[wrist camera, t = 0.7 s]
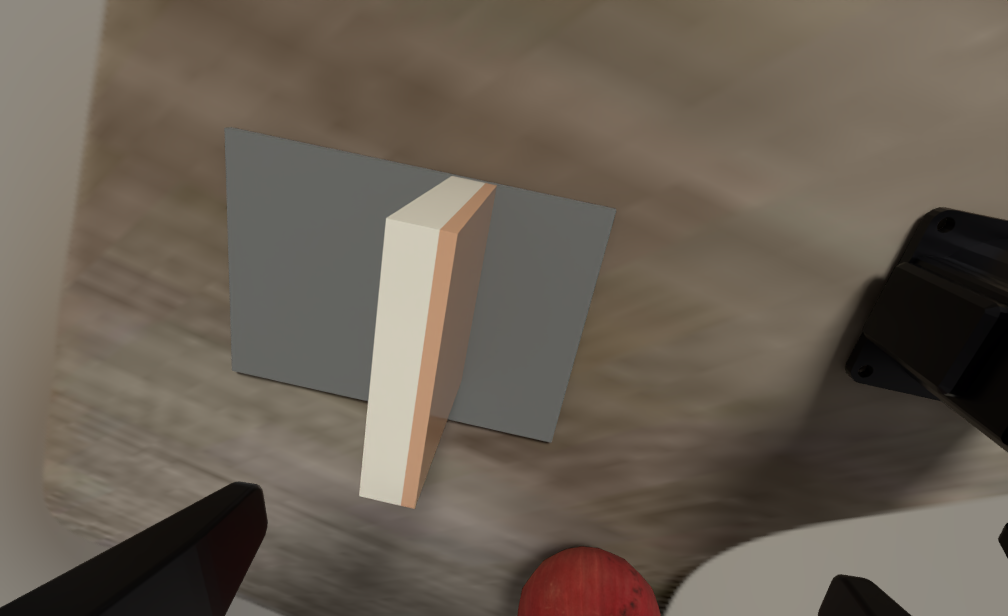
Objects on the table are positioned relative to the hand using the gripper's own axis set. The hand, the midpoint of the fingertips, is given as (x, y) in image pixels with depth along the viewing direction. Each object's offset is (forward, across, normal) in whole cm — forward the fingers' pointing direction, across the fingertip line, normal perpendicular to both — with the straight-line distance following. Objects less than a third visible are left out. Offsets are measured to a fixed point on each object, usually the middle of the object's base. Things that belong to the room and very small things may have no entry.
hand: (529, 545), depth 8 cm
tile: (+11, +4, 0) cm, 12 cm away
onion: (+12, -3, +13) cm, 18 cm away
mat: (+12, +6, +1) cm, 13 cm away
